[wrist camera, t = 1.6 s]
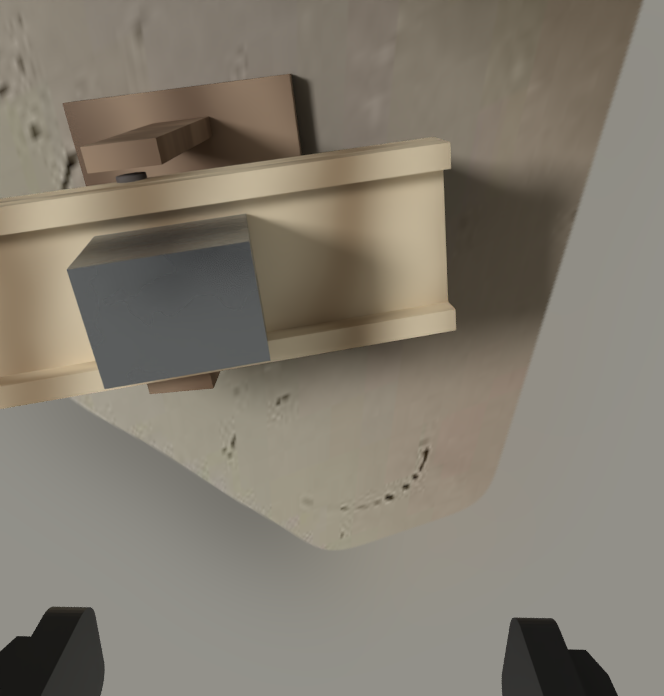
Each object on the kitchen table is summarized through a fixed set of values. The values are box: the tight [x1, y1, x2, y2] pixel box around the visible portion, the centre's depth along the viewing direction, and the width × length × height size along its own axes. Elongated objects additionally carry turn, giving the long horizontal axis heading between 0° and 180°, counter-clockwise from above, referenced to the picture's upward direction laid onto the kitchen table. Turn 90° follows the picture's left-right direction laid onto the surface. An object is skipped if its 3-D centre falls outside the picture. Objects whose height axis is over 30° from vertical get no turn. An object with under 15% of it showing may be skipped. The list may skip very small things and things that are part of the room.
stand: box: [63, 74, 302, 394], centre depth 30 cm, size 12×14×10 cm
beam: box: [0, 137, 456, 409], centre depth 27 cm, size 25×8×8 cm, turn 97°
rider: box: [67, 214, 271, 389], centre depth 23 cm, size 6×4×4 cm
